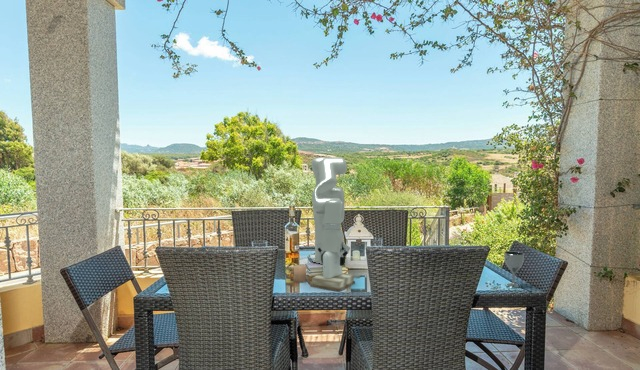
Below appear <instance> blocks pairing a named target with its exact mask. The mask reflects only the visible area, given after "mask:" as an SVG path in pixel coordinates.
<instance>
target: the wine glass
mask: <svg viewBox="0 0 640 370" xmlns="http://www.w3.org/2000/svg"><path fill="white" fill-rule="evenodd" d="M524 259H525V253H524V252H522V251H515V250H507V251H504V262H505V265H506V267H507V268H508V269H509V270H510V272H511V275H512V282H508V284H507V283H506V284H507V285H508V286H511V287H510V288H512V287H518V284H519V283H516V282H515V278H516V273H517V272H518V271H519V270H520V269H521V268H522V266H523V264H524ZM508 286H507V287H508Z"/></svg>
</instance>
